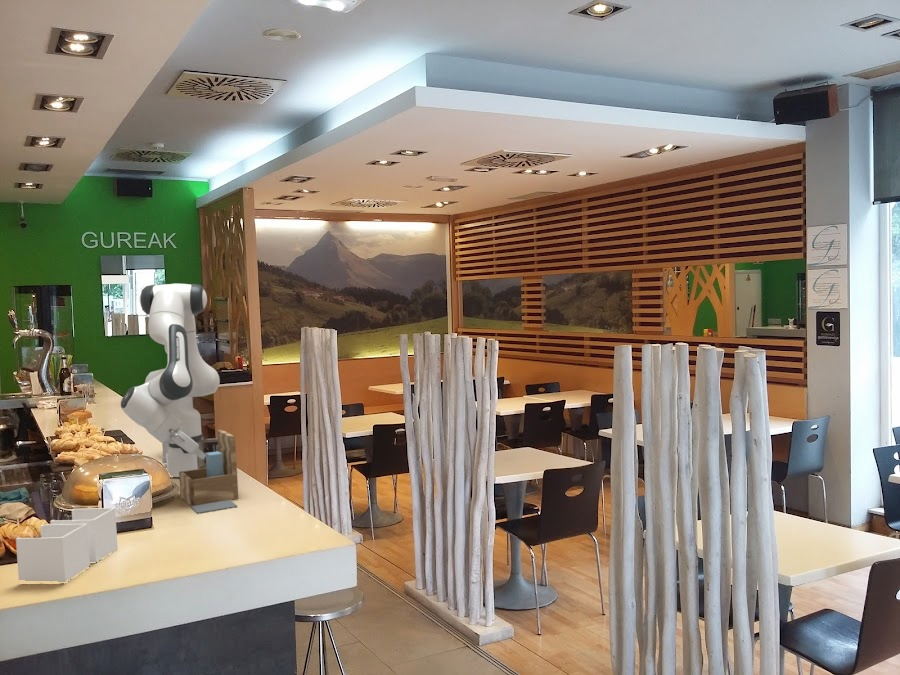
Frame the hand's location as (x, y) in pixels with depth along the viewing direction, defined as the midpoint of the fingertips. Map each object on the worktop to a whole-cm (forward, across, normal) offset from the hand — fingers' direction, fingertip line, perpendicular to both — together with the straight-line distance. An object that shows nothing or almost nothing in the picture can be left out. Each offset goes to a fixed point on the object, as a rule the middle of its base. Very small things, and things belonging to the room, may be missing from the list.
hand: (200, 455), depth 258 cm
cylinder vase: (+15, +75, +4) cm, 77 cm away
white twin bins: (-20, -47, +40) cm, 65 cm away
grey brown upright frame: (+15, +14, +5) cm, 21 cm away
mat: (+10, -13, +10) cm, 19 cm away
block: (+10, 0, +4) cm, 11 cm away
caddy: (+11, 0, +9) cm, 14 cm away
